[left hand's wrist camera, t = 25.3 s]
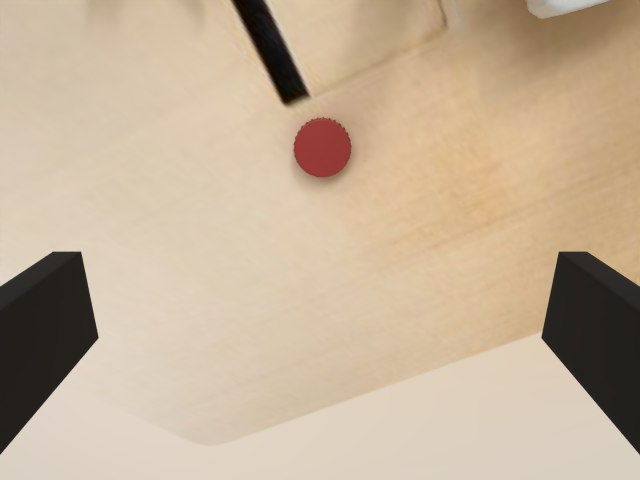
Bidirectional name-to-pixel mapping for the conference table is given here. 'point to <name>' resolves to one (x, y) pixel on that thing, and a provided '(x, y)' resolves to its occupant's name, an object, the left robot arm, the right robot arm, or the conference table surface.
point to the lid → (322, 147)
